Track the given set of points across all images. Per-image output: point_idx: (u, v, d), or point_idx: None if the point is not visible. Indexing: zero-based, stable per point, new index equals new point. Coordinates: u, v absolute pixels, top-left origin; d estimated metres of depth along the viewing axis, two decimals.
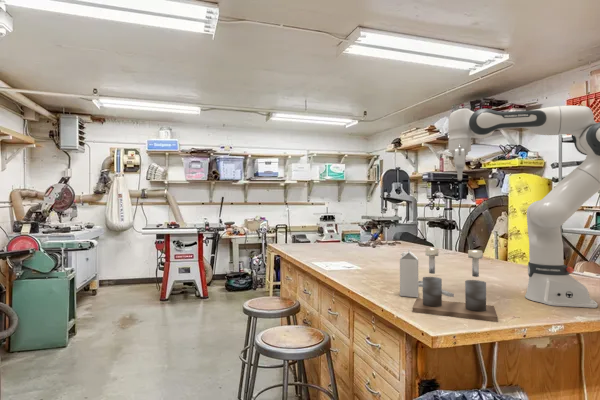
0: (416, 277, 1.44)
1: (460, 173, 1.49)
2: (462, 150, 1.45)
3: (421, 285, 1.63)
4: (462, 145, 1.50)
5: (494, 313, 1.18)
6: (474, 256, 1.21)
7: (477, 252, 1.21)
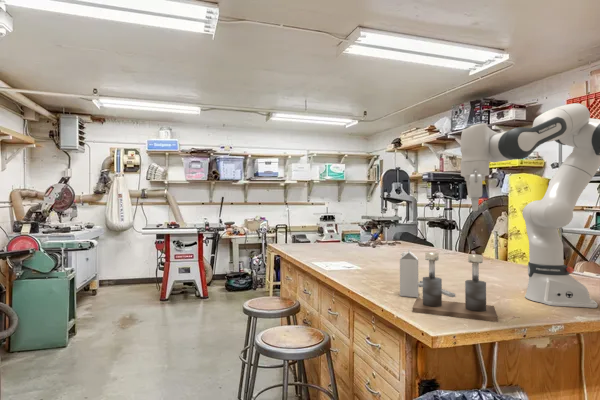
0: (416, 277, 1.44)
1: (475, 204, 1.22)
2: (479, 176, 1.15)
3: (422, 285, 1.63)
4: (478, 169, 1.19)
5: (494, 313, 1.18)
6: (474, 261, 1.21)
7: (477, 257, 1.21)
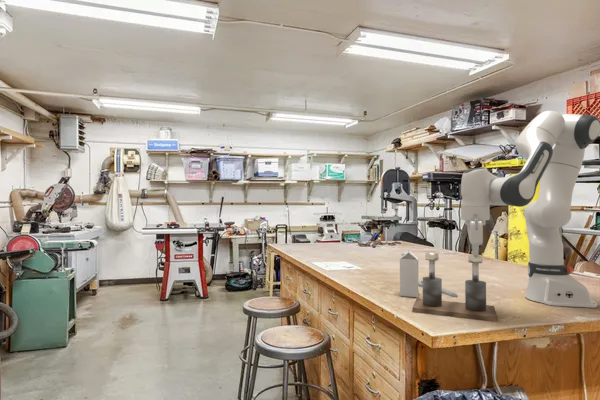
0: (416, 277, 1.44)
1: (476, 249, 1.22)
2: (479, 224, 1.15)
3: None
4: (479, 215, 1.19)
5: (494, 313, 1.18)
6: (474, 261, 1.21)
7: (477, 257, 1.21)
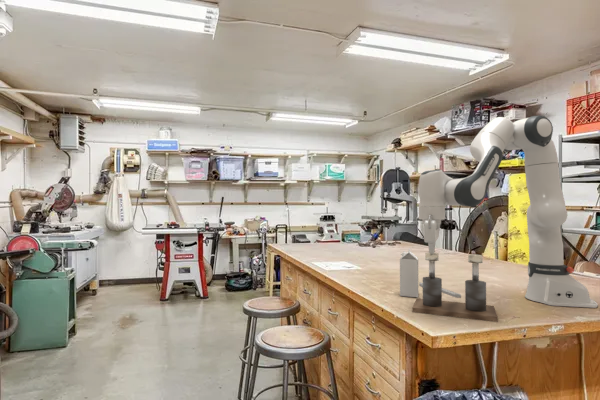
0: (416, 277, 1.44)
1: (432, 247, 1.27)
2: (433, 223, 1.20)
3: None
4: (434, 214, 1.25)
5: (494, 313, 1.18)
6: (474, 261, 1.21)
7: (477, 257, 1.21)
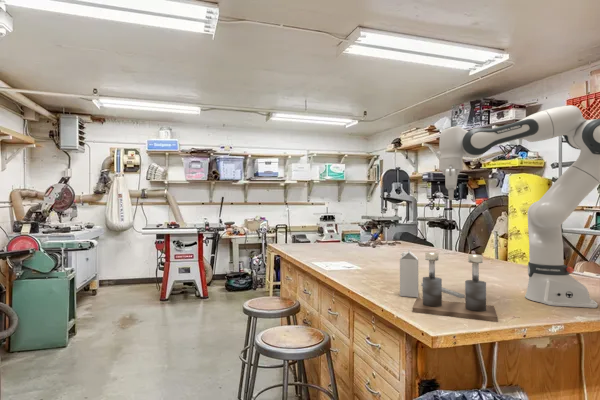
0: (416, 277, 1.44)
1: (451, 194, 1.46)
2: (453, 170, 1.39)
3: None
4: (453, 165, 1.44)
5: (494, 313, 1.18)
6: (474, 261, 1.21)
7: (477, 257, 1.21)
